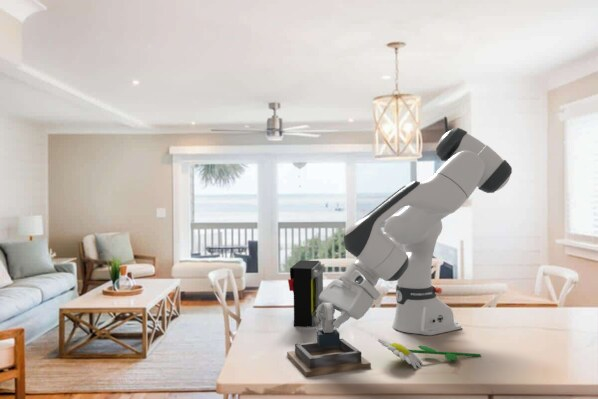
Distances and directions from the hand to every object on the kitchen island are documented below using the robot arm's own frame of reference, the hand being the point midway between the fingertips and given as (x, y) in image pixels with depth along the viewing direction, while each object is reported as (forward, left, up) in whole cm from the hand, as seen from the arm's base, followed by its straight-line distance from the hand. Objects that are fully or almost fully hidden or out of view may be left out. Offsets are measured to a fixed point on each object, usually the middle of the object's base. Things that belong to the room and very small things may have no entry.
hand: (325, 321), depth 132 cm
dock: (0, 0, -11) cm, 11 cm away
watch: (-1, 0, -6) cm, 6 cm away
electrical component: (-9, -41, -11) cm, 44 cm away
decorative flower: (-27, +9, -11) cm, 31 cm away
